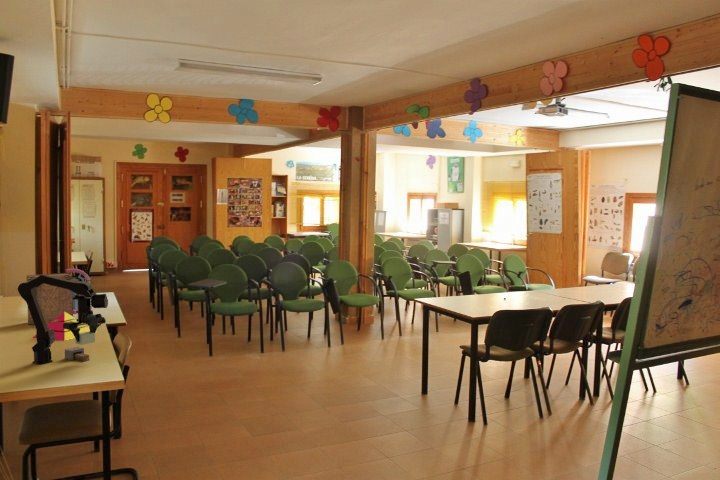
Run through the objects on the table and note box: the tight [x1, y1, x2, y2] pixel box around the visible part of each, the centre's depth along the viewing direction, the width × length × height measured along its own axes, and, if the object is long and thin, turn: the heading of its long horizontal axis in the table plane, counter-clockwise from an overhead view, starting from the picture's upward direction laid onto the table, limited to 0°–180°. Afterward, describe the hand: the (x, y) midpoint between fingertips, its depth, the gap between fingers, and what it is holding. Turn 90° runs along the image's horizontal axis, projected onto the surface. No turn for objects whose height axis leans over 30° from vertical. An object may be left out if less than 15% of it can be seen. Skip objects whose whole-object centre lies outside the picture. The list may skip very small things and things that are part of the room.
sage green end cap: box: [74, 332, 96, 346], centre depth 283 cm, size 6×7×4 cm
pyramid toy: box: [31, 311, 98, 342], centre depth 338 cm, size 25×25×14 cm
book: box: [26, 272, 74, 326], centre depth 374 cm, size 25×9×30 cm, turn 119°
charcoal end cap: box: [64, 346, 85, 361], centre depth 289 cm, size 6×7×4 cm
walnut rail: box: [73, 352, 90, 363], centre depth 286 cm, size 3×10×2 cm, turn 57°
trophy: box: [65, 268, 93, 315], centre depth 407 cm, size 20×17×30 cm
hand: (85, 340), depth 283 cm, fingers closed on sage green end cap, 7 cm apart
